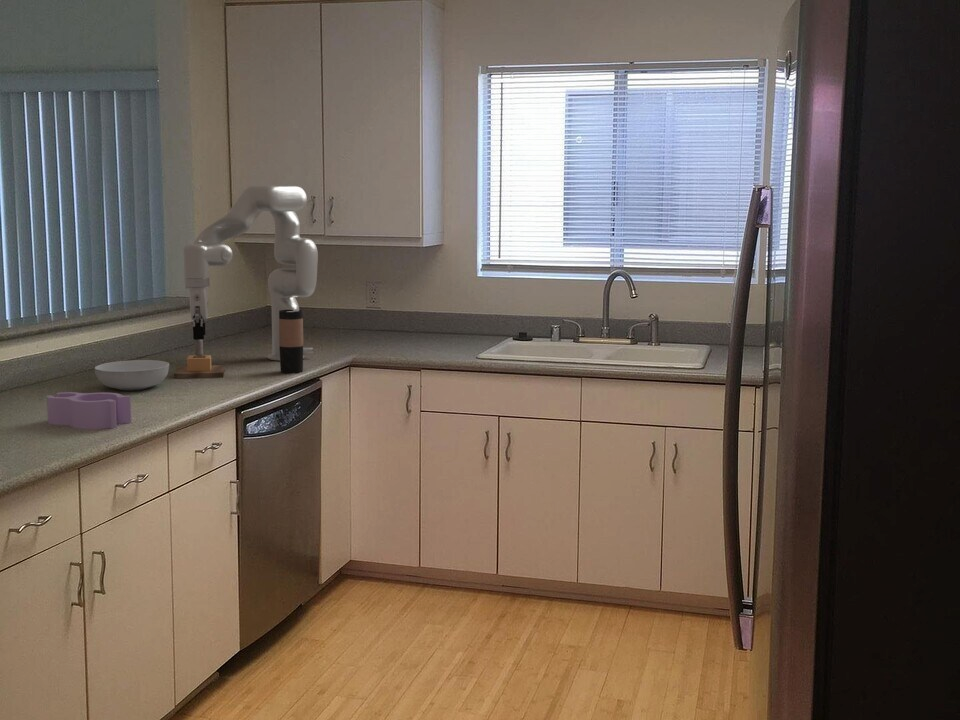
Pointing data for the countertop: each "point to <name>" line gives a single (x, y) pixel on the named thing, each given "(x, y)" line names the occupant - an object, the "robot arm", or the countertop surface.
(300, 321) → the travel mug
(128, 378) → the serving bowl
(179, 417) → the countertop surface
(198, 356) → the post stand
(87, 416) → the clip
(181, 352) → the countertop surface
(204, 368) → the collar
